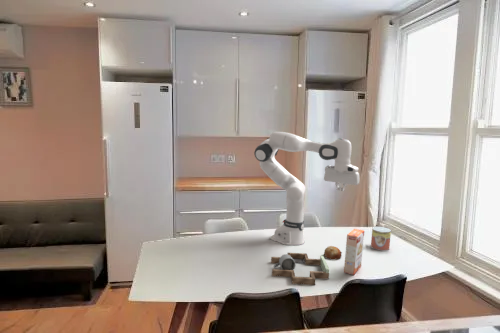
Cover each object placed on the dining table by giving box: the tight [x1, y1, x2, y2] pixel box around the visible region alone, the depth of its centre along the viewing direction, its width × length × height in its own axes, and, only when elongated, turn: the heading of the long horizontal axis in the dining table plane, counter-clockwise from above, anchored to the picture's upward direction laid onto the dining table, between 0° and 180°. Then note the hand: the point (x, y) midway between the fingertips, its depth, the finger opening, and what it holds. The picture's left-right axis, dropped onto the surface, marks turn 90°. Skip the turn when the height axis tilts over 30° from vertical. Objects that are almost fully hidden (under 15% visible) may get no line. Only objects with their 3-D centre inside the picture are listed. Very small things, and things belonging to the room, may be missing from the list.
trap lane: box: [270, 252, 330, 286], centre depth 187 cm, size 28×33×3 cm
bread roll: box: [323, 245, 343, 261], centre depth 208 cm, size 10×10×8 cm
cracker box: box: [343, 228, 365, 276], centre depth 189 cm, size 14×6×21 cm, turn 148°
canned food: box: [370, 226, 392, 252], centre depth 226 cm, size 11×11×12 cm
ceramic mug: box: [273, 253, 296, 271], centre depth 187 cm, size 11×8×8 cm
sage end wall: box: [319, 255, 330, 274], centre depth 187 cm, size 2×18×5 cm, turn 178°
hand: (340, 190), depth 205 cm, fingers closed
